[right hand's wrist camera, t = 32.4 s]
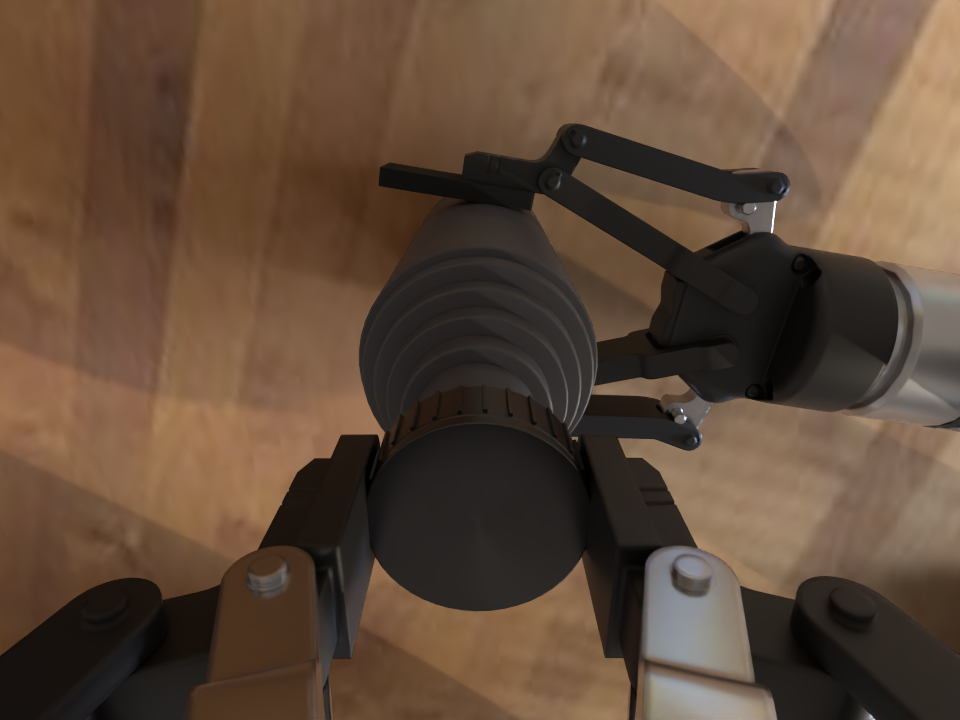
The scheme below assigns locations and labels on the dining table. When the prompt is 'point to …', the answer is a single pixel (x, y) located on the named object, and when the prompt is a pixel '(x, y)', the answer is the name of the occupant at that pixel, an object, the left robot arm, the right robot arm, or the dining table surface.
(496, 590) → the cap
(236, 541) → the dining table surface
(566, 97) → the dining table surface
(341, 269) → the dining table surface
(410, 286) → the bottle
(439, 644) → the dining table surface
